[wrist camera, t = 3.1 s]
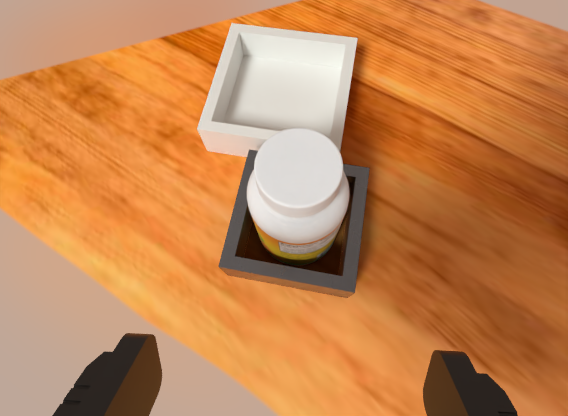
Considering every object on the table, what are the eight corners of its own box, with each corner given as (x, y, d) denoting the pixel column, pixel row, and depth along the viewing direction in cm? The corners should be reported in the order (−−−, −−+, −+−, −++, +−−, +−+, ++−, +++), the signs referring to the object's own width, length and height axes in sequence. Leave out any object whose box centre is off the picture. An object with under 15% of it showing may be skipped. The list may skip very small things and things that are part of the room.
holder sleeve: (361, 186, 25) (369, 168, 22) (347, 298, 22) (354, 292, 19) (254, 169, 26) (249, 149, 23) (227, 275, 23) (218, 266, 20)
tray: (351, 66, 29) (357, 38, 26) (335, 170, 25) (340, 150, 23) (237, 52, 30) (231, 23, 27) (207, 150, 26) (197, 129, 24)
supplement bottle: (257, 196, 25) (235, 118, 16) (330, 191, 25) (350, 109, 16) (261, 270, 23) (238, 228, 14) (340, 264, 23) (368, 218, 14)
